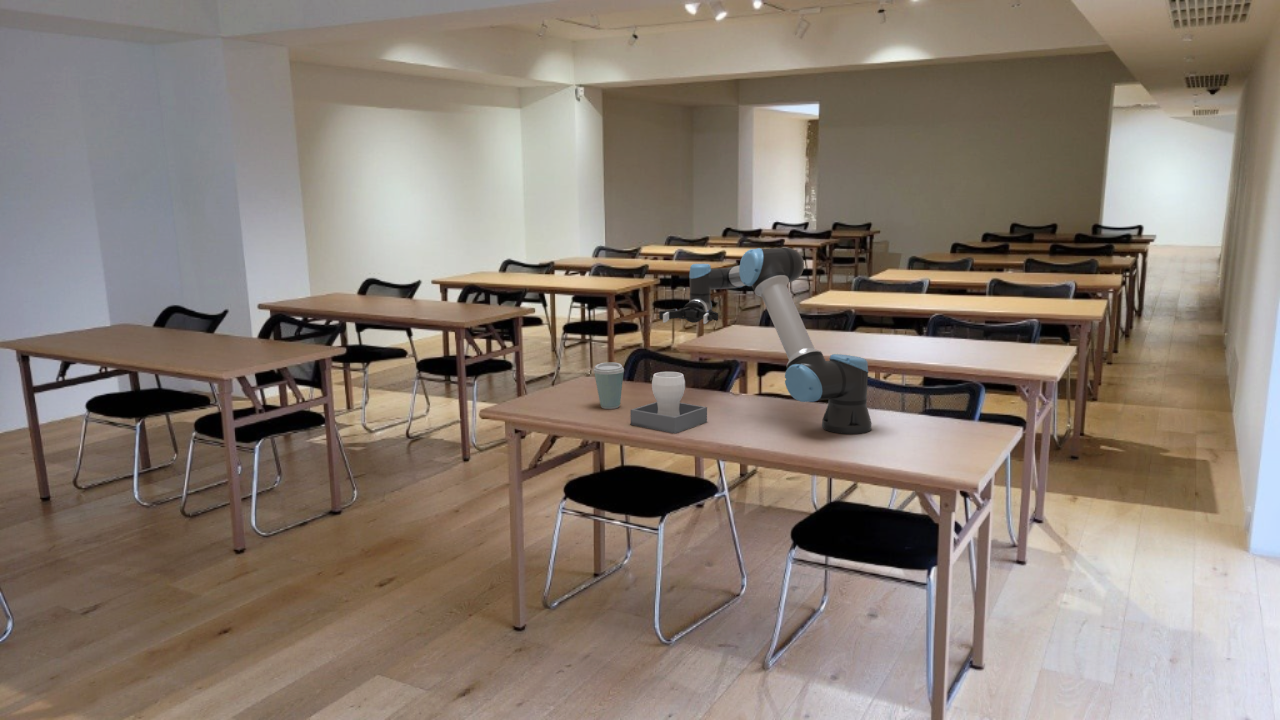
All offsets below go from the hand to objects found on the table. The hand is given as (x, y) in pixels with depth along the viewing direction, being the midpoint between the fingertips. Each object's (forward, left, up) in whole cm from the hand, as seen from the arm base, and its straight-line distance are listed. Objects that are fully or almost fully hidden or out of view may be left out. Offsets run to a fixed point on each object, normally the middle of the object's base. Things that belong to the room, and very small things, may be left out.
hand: (684, 319), depth 303 cm
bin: (-4, +14, -32) cm, 35 cm away
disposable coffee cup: (+26, +8, -32) cm, 42 cm away
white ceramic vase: (-4, +14, -31) cm, 34 cm away
